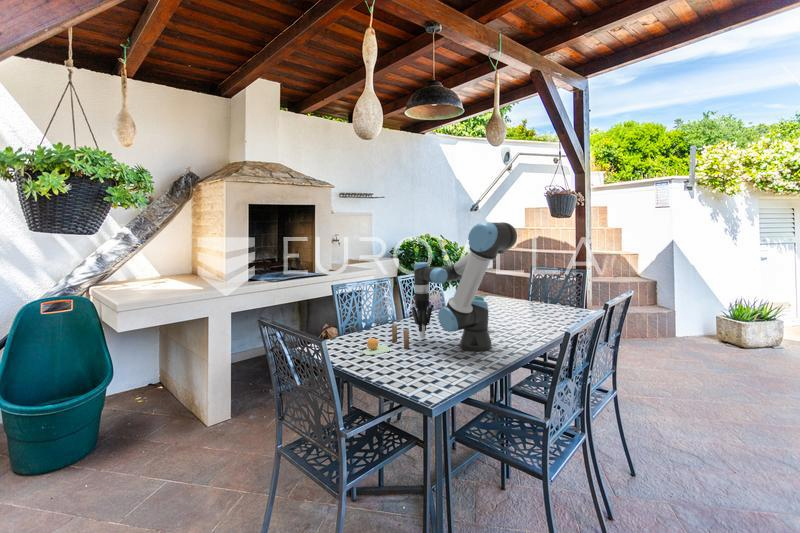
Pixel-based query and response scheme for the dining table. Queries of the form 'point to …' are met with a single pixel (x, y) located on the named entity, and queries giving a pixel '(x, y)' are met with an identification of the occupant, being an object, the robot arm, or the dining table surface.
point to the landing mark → (378, 350)
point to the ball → (372, 343)
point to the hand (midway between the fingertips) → (422, 337)
